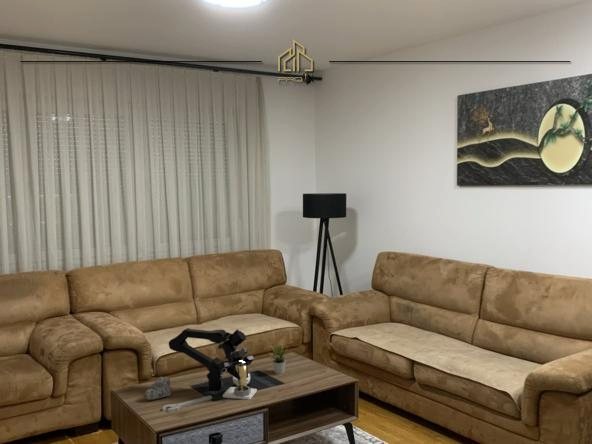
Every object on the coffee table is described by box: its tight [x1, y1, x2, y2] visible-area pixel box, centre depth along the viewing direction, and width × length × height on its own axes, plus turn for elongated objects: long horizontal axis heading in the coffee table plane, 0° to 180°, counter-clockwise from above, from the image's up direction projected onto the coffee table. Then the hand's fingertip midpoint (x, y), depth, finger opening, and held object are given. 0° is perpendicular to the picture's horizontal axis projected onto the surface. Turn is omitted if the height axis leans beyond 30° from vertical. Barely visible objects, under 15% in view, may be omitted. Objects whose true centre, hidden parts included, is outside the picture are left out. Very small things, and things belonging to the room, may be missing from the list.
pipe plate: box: [222, 385, 258, 400], centre depth 285 cm, size 14×11×4 cm
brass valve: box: [237, 362, 248, 391], centre depth 282 cm, size 4×4×14 cm
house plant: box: [268, 342, 289, 375], centre depth 318 cm, size 14×14×16 cm
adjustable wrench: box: [162, 395, 213, 413], centre depth 273 cm, size 25×6×2 cm, turn 123°
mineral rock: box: [145, 376, 173, 401], centre depth 283 cm, size 13×11×10 cm
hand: (243, 378), depth 281 cm, fingers open, 4 cm apart
